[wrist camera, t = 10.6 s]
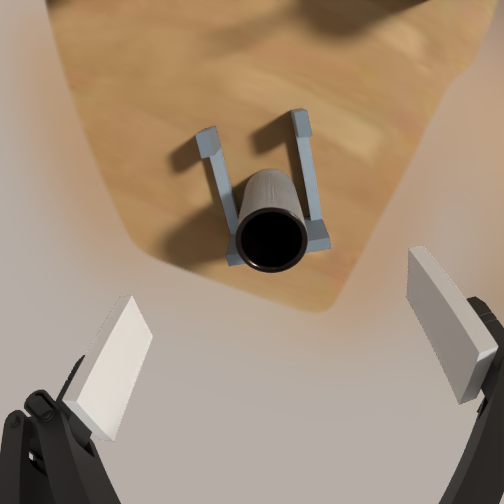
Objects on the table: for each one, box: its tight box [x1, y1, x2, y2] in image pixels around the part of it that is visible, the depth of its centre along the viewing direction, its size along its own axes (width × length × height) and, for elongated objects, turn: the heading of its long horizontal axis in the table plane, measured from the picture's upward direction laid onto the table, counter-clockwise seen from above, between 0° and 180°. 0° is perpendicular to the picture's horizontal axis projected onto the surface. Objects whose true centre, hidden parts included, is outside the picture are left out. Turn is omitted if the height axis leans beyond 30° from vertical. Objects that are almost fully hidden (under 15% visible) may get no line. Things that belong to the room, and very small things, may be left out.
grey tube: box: [235, 169, 308, 273], centre depth 24 cm, size 4×4×10 cm
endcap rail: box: [195, 108, 331, 266], centre depth 26 cm, size 11×8×5 cm
